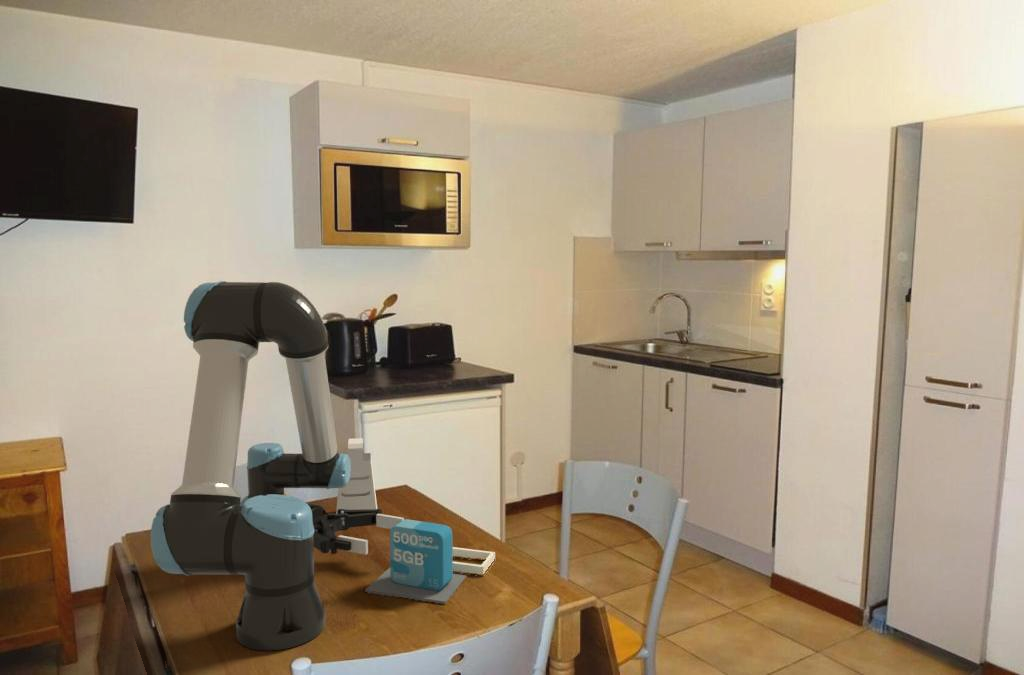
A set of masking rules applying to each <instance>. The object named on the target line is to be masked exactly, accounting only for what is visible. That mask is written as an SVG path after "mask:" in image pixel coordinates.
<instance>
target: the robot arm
mask: <svg viewBox="0 0 1024 675" xmlns="http://www.w3.org/2000/svg"><path fill="white" fill-rule="evenodd" d="M183 322H184V323H185V324H184V327H183V329H184V332H185V334H186V336H187V338H188V339H189V340H190V341H192V342H193V343H192V348H193V349H194V350H195V352H196V353H197V354H198V355H199V362H198V363H199V364H198V369H197V375H196V376H197V377H196V384H195V385H196V386H195V390H194V397H193V403H192V404H193V405H192V412H191V419H190V426H189V434H188V439H187V445H186V446H187V447H186V453H185V461H184V466H183V467H184V468H183V476H182V481H181V482H182V483H181V485H180V486H178V488H177V489H175V490H174V491H172V492H171V495H170V501H169V504H166V505H163V506H161V507H160V508H159V509H158V510H157V511H156V513H155V517H153V520H152V524H151V529H150V548H151V552H152V555H153V559H154V560H155V563H156V564H157V566H158V567H159V568H160V569H161V570H162V571H164V572H165V573H168V574H177V575H185V576H194V575H211V576H212V575H216V576H218V575H225V576H226V575H230V576H231V575H243V576H244V580H245V581H244V582H245V590H244V595H243V599H242V602H241V605H240V607H239V608H240V609H239V612H238V615H237V618H236V622H235V636H236V640H237V641H238V643H239V644H241V645H242V646H244V647H246V648H247V649H251V650H255V651H256V650H257V651H280V650H287V649H291V648H295V647H298V646H301V645H303V644H305V643H308V642H309V641H311V640H313V639H315V638H316V637H317V636H319V635H320V634H321V633H322V631H323V630H324V629H325V627H326V610H325V606H324V605H323V603H322V599H321V597H320V594H319V591H318V588H317V586H316V583H315V582H316V581H315V550H314V549H317V550H318V551H319V552H321V553H322V554H328V553H329V551H330V554H331V555H337V553H338V550H339V551H345V552H348V553H352V554H353V553H355V554H359V555H365V556H366V555H368V554H369V540H368V539H365V538H364V539H363V538H357V537H353V536H345V535H341V534H340V535H338V536H336V533H337V532H341V531H347V530H349V528H357V527H358V528H359V527H368V526H376V528H382V529H387V530H391V528H392V527H394V526H395V525H397V524H398V523H400V522H401V521H403V520H405V518H404V517H400V516H395V515H389V514H383V510H382V509H381V508H377V509H364V510H346V509H338V510H337V514H336V513H334V512H331V513H328V512H327V511H326V509H324V507H323V506H322V505H319V504H313V503H307V502H305V501H304V500H303V499H300V498H298V497H294V496H291V495H285V489H327V490H329V489H338V488H343V487H345V486H346V485H347V484H348V482H349V479H350V473H351V462H350V458H349V456H348V455H347V454H348V453H341V452H339V451H338V449H339V448H338V442H337V435H336V428H335V421H334V419H335V418H334V414H333V406H332V400H331V393H330V392H331V391H330V385H329V380H328V379H329V377H328V376H329V375H328V369H327V363H326V356H325V353H326V352H327V350H328V349H329V341H328V332H327V328H326V326H325V323H324V320H323V319H322V317H321V315H320V313H319V312H318V311H317V309H316V307H315V306H314V304H313V303H312V301H310V300H309V298H307V297H306V296H305V295H304V294H303V293H302V292H300V291H299V290H298V289H296V288H295V287H293V286H291V285H288V284H287V283H286V284H285V283H283V282H278V281H269V282H260V281H259V282H252V281H251V282H250V281H249V282H247V281H244V282H243V281H237V282H236V281H234V282H233V281H226V280H225V281H224V280H221V281H216V282H205V283H204V282H203V283H202V284H200V285H198V286H197V287H195V288H194V289H193V290H192V291H191V293H190V295H189V296H188V299H187V301H186V304H185V307H184V313H183ZM260 343H275V344H276V345H277V347H278V352H279V355H280V356H281V357H283V358H285V363H286V364H285V365H286V367H287V368H286V369H287V374H288V379H289V384H290V385H289V386H290V392H291V396H292V397H291V398H292V404H293V409H294V415H295V420H296V421H295V422H296V427H297V431H298V438H299V442H300V448H301V449H300V450H301V453H285V451H284V447H283V445H282V444H280V443H277V442H263V443H258V444H254V445H252V446H251V447H250V448H248V451H247V461H246V462H247V465H246V469H247V470H246V471H247V474H246V475H247V492H248V495H246V496H245V497H244V498H242V495H240V493H239V492H238V491H237V490H236V489H235V486H234V481H235V476H236V467H237V459H238V458H237V457H238V450H239V441H240V434H241V428H242V427H241V425H242V418H243V417H242V416H243V409H244V401H245V391H246V385H247V384H246V383H247V377H248V376H247V375H248V369H249V368H248V367H249V362H250V360H251V359H253V358H254V357H256V356H258V353H259V345H260ZM342 522H344V525H343V524H342ZM337 537H338V538H337Z"/></svg>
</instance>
